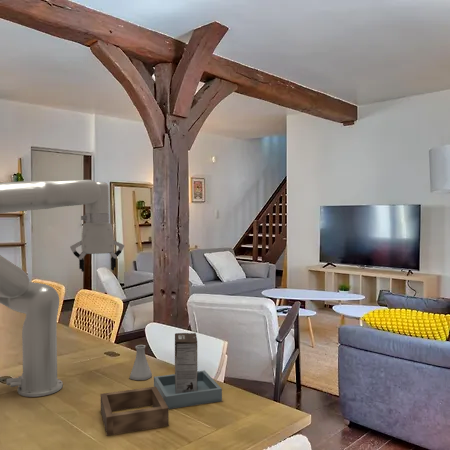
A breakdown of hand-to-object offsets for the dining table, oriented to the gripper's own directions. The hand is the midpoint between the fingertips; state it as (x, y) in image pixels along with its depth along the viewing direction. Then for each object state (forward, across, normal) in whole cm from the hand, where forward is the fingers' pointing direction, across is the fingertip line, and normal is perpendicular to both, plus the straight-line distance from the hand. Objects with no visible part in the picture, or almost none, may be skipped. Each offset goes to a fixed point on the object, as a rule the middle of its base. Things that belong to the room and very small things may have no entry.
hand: (97, 270), depth 157 cm
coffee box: (+33, +22, -31) cm, 50 cm away
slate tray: (+33, +22, -31) cm, 50 cm away
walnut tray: (+33, +5, -41) cm, 53 cm away
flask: (+34, +12, -12) cm, 38 cm away
